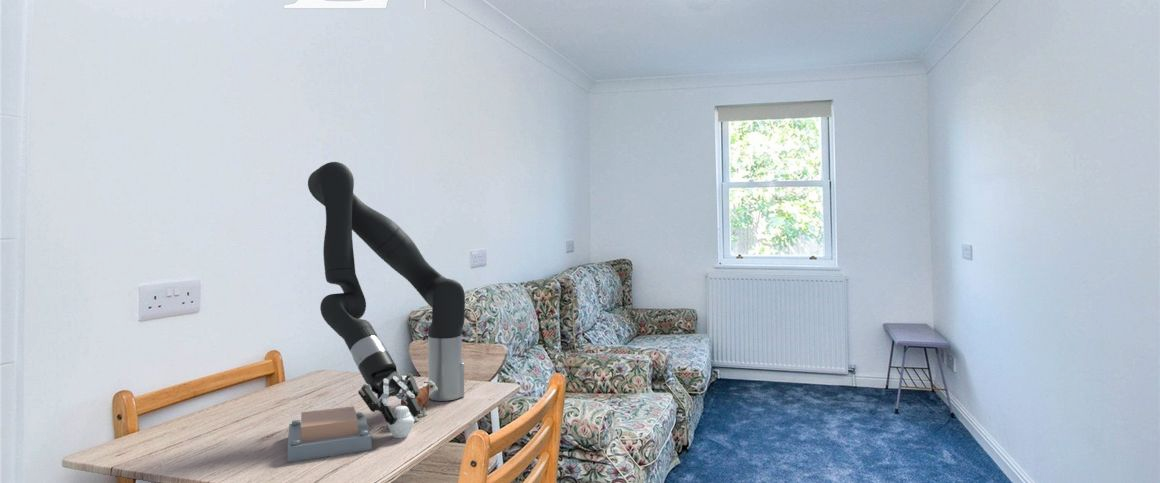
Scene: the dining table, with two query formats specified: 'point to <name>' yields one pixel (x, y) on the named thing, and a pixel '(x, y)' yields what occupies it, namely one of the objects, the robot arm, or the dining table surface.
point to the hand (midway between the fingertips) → (405, 418)
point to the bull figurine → (423, 396)
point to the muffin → (402, 422)
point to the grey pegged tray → (328, 434)
